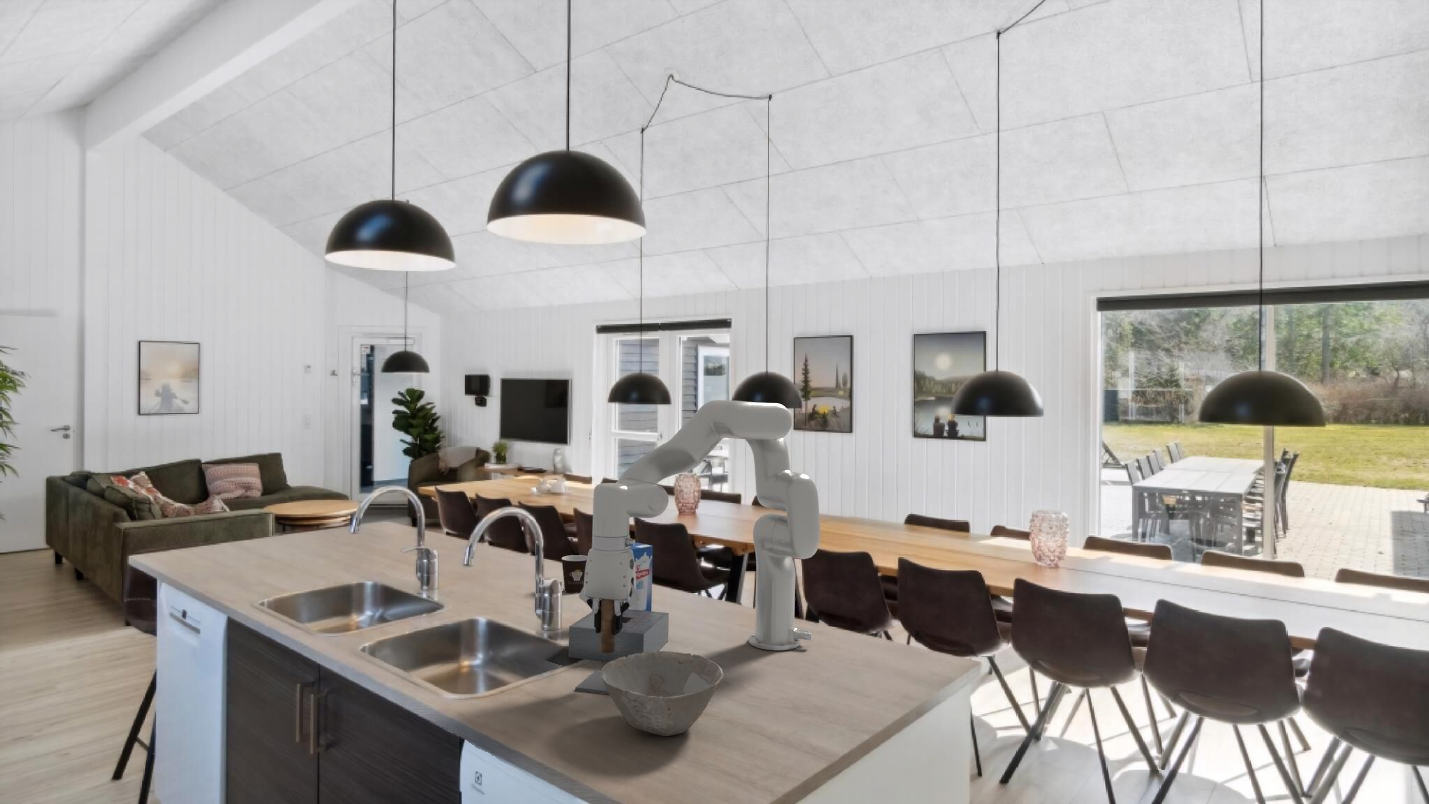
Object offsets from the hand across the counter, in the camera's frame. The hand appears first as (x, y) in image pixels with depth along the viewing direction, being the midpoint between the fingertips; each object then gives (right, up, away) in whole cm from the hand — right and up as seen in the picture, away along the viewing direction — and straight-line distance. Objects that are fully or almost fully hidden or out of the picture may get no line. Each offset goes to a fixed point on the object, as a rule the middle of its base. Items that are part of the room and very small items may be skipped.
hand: (608, 631), depth 161 cm
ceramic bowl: (+12, -11, -20) cm, 26 cm away
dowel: (0, -4, 0) cm, 4 cm away
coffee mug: (-19, -11, +78) cm, 81 cm away
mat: (0, -11, 0) cm, 11 cm away
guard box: (0, -11, +23) cm, 25 cm away
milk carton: (-1, -11, +46) cm, 47 cm away
